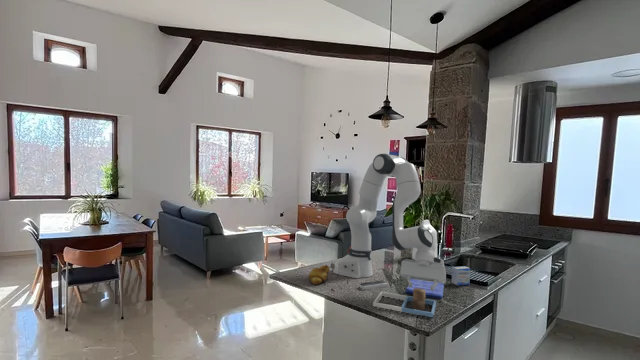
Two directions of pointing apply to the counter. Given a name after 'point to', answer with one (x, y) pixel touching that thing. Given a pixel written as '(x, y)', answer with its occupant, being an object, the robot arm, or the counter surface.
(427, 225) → the milk
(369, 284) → the multiport hub
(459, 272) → the medicine box
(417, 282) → the dish towel
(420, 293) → the brown cylinder
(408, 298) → the sorting rack
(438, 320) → the counter surface
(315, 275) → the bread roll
